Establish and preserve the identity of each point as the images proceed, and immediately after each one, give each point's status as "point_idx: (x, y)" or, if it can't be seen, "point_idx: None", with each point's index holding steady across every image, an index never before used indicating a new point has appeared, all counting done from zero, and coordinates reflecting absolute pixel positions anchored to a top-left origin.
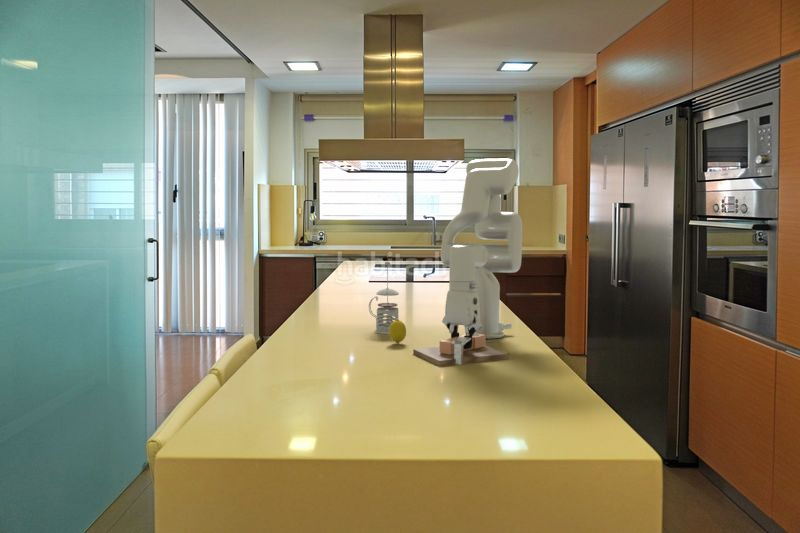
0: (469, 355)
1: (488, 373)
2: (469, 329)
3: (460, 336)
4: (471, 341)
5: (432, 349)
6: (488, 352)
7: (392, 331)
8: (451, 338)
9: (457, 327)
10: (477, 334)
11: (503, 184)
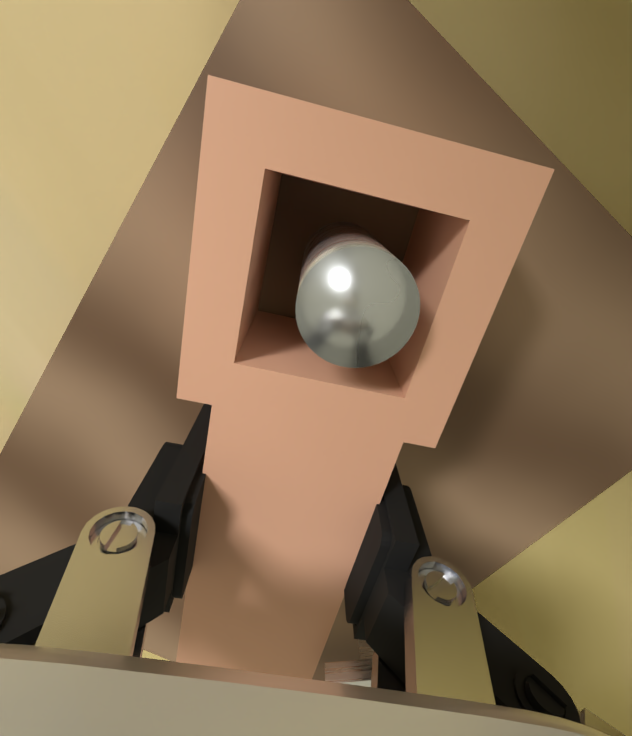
0: None
1: (584, 690)
2: (406, 647)
3: (225, 476)
4: (413, 522)
5: (63, 517)
6: (553, 418)
7: None
8: (197, 602)
9: (140, 609)
10: (396, 200)
11: None
